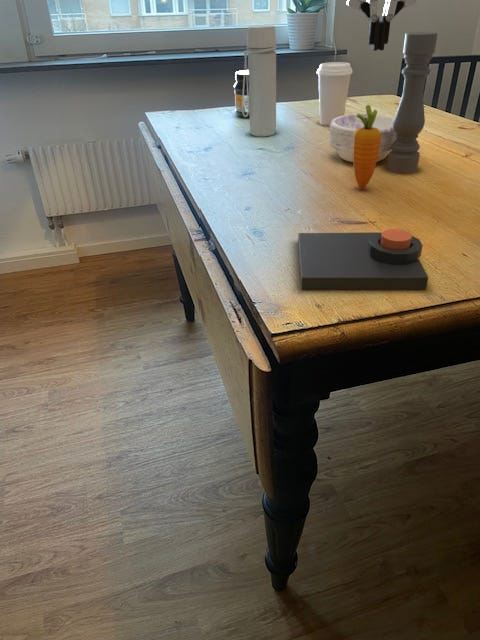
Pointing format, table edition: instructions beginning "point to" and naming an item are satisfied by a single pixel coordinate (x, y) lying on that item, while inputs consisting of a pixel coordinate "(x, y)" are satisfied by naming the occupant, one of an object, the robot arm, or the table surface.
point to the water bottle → (261, 80)
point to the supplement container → (239, 92)
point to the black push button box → (358, 263)
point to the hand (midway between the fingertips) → (377, 49)
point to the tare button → (396, 239)
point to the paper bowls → (345, 130)
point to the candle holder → (411, 102)
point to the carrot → (366, 148)
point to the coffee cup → (333, 90)
